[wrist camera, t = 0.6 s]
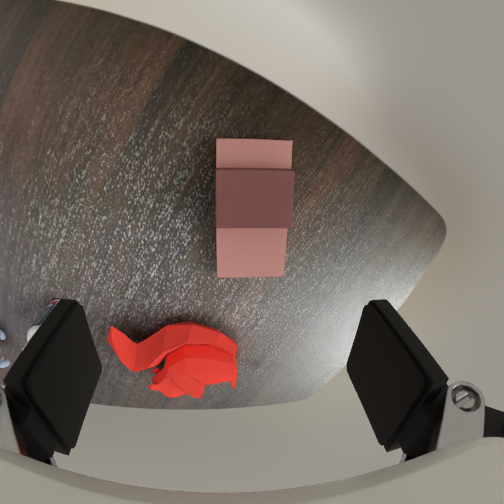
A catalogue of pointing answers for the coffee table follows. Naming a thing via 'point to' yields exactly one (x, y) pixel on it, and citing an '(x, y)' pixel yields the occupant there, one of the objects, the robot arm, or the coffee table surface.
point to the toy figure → (3, 362)
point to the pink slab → (253, 206)
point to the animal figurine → (180, 357)
